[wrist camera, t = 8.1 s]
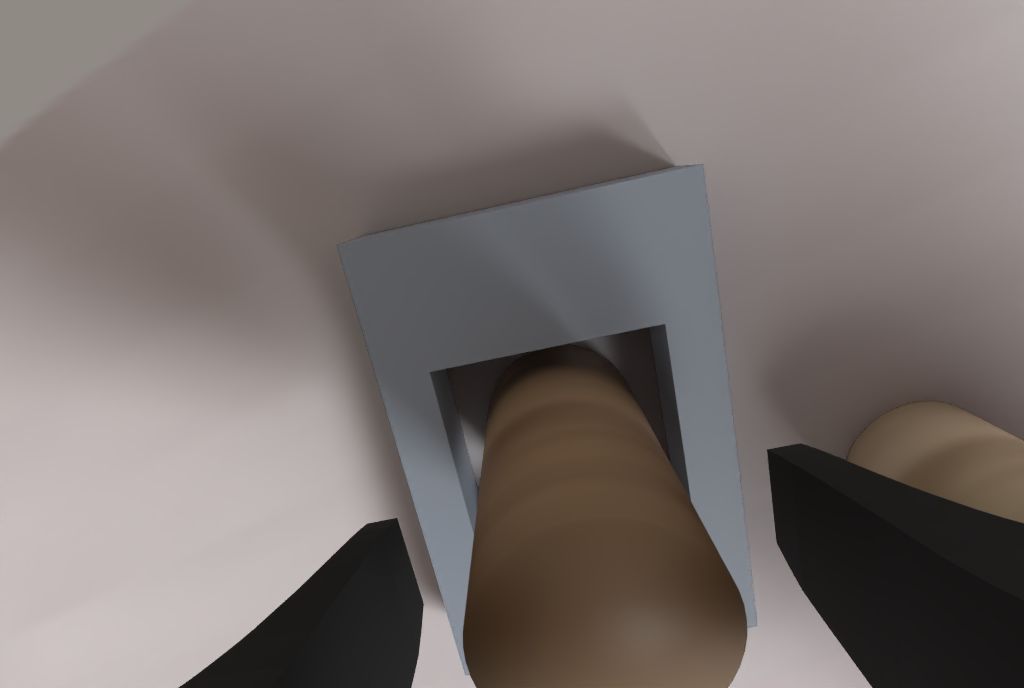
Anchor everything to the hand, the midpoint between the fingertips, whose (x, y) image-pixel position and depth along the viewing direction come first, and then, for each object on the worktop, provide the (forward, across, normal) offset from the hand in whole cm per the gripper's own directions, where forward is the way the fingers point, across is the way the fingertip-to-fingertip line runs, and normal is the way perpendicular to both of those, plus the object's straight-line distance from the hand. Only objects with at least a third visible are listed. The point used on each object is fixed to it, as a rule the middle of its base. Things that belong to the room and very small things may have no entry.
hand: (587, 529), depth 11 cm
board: (+5, 0, 0) cm, 5 cm away
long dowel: (+5, 0, 0) cm, 5 cm away
